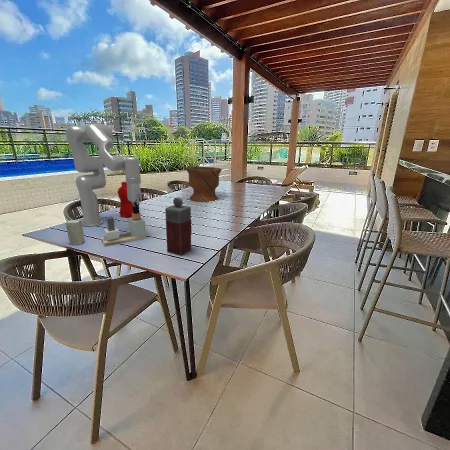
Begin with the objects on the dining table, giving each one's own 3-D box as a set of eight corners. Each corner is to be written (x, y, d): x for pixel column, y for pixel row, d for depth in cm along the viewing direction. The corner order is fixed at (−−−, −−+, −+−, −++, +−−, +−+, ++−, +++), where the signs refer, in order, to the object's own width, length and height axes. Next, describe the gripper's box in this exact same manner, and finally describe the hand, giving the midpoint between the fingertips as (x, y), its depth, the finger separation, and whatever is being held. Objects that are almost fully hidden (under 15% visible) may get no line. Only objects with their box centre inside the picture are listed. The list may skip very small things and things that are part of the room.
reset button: (132, 217, 141) (131, 212, 140) (138, 217, 143) (138, 212, 142) (134, 219, 138) (133, 214, 137) (140, 218, 140) (140, 213, 139)
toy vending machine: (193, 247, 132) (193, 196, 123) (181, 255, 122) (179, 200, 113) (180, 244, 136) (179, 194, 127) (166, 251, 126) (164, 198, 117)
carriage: (104, 237, 136) (102, 216, 133) (116, 235, 140) (113, 215, 136) (108, 241, 131) (105, 220, 127) (119, 239, 135) (117, 218, 131)
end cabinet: (129, 232, 146) (128, 217, 143) (139, 230, 149) (138, 216, 146) (135, 237, 138) (134, 222, 135) (146, 235, 142) (144, 220, 139)
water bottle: (132, 218, 176) (129, 183, 168) (118, 217, 178) (114, 182, 170) (139, 215, 184) (136, 181, 176) (125, 213, 186) (122, 180, 178)
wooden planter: (200, 204, 220) (200, 171, 211) (179, 197, 244) (178, 167, 235) (228, 199, 243) (229, 169, 233) (206, 193, 267) (206, 166, 257)
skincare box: (85, 241, 135) (81, 220, 131) (81, 244, 131) (77, 222, 127) (73, 241, 135) (69, 219, 131) (68, 244, 131) (64, 222, 127)
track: (100, 240, 137) (99, 234, 136) (140, 232, 150) (139, 227, 149) (105, 246, 130) (104, 240, 128) (146, 238, 142) (145, 232, 141)
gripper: (122, 179, 137) (125, 211, 143) (130, 183, 126) (134, 217, 132) (135, 178, 142) (138, 209, 147) (145, 182, 130) (147, 215, 136)
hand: (136, 213), depth 140 cm, fingers closed
